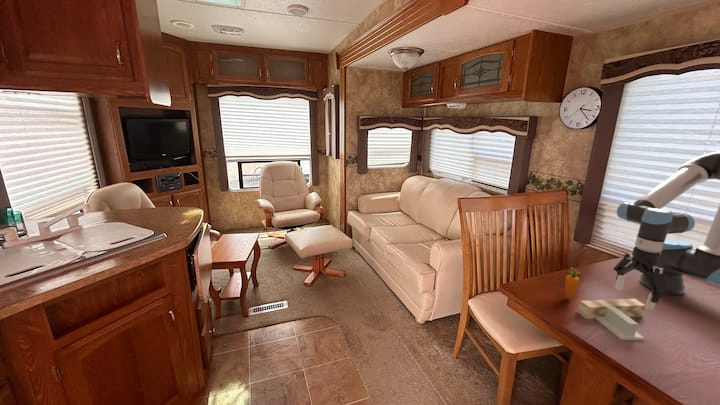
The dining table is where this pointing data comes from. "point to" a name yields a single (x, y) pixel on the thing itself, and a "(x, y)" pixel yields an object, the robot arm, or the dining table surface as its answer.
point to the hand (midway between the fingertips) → (633, 298)
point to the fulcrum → (620, 324)
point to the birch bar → (599, 306)
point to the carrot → (571, 284)
